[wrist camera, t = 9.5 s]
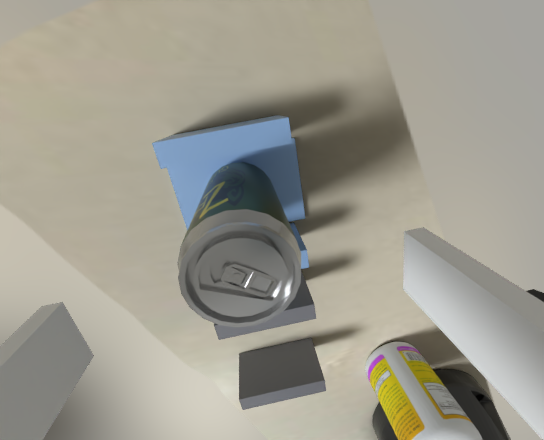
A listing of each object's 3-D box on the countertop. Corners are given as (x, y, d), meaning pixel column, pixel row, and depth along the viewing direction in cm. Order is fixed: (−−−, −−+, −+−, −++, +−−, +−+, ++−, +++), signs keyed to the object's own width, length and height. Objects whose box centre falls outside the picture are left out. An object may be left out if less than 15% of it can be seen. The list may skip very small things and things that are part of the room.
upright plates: (312, 347, 30) (326, 390, 25) (242, 363, 30) (242, 409, 25) (277, 115, 20) (288, 117, 16) (172, 135, 20) (151, 143, 15)
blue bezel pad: (304, 216, 24) (305, 218, 23) (192, 239, 23) (191, 241, 23) (293, 137, 21) (294, 138, 21) (166, 162, 21) (165, 163, 20)
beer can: (284, 176, 22) (330, 247, 11) (257, 232, 23) (273, 343, 12) (221, 148, 20) (200, 196, 9) (197, 210, 22) (154, 312, 11)
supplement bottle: (369, 385, 34) (439, 535, 22) (358, 350, 31) (431, 499, 19) (420, 367, 33) (518, 509, 22) (413, 330, 31) (521, 469, 19)
